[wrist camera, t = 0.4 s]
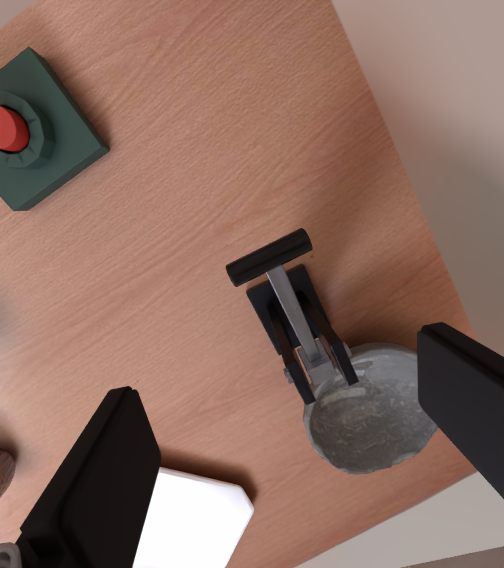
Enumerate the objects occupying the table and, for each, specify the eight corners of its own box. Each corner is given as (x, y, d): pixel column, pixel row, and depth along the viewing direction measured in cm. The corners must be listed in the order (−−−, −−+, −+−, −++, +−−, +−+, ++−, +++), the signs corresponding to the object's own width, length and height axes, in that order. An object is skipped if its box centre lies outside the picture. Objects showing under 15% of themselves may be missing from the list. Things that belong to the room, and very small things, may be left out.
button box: (43, 57, 28) (13, 34, 24) (110, 150, 31) (93, 142, 27) (-44, 127, 29) (-86, 116, 25) (27, 210, 32) (-1, 211, 28)
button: (9, 101, 26) (-7, 94, 24) (38, 137, 27) (25, 133, 25) (-20, 124, 26) (-37, 118, 25) (9, 159, 27) (-5, 156, 26)
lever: (221, 256, 17) (229, 280, 15) (296, 219, 17) (312, 239, 15) (291, 370, 27) (300, 392, 25) (338, 348, 27) (351, 369, 25)
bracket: (245, 290, 36) (253, 347, 22) (301, 263, 36) (346, 303, 22) (277, 351, 39) (302, 436, 25) (330, 326, 38) (386, 399, 24)
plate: (108, 444, 42) (101, 457, 39) (262, 480, 45) (263, 494, 43) (73, 555, 47) (66, 572, 45) (212, 579, 51) (211, 595, 49)
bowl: (411, 311, 39) (455, 338, 31) (413, 414, 44) (452, 459, 36) (284, 337, 38) (296, 370, 31) (301, 437, 43) (315, 487, 36)
